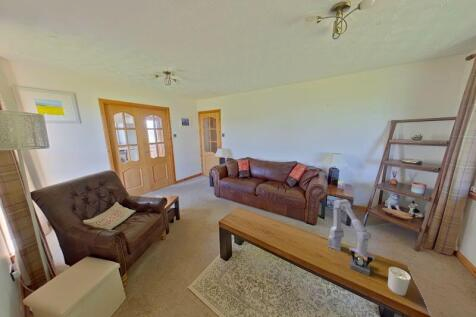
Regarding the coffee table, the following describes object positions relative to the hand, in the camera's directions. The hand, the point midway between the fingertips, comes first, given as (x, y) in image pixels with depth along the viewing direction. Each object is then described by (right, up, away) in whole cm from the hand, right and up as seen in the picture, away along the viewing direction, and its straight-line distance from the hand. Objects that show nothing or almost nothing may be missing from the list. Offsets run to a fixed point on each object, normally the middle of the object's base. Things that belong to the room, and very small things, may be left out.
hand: (360, 263), depth 119 cm
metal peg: (0, -3, 0) cm, 3 cm away
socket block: (+1, -4, +2) cm, 4 cm away
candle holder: (+11, -7, -16) cm, 21 cm away
